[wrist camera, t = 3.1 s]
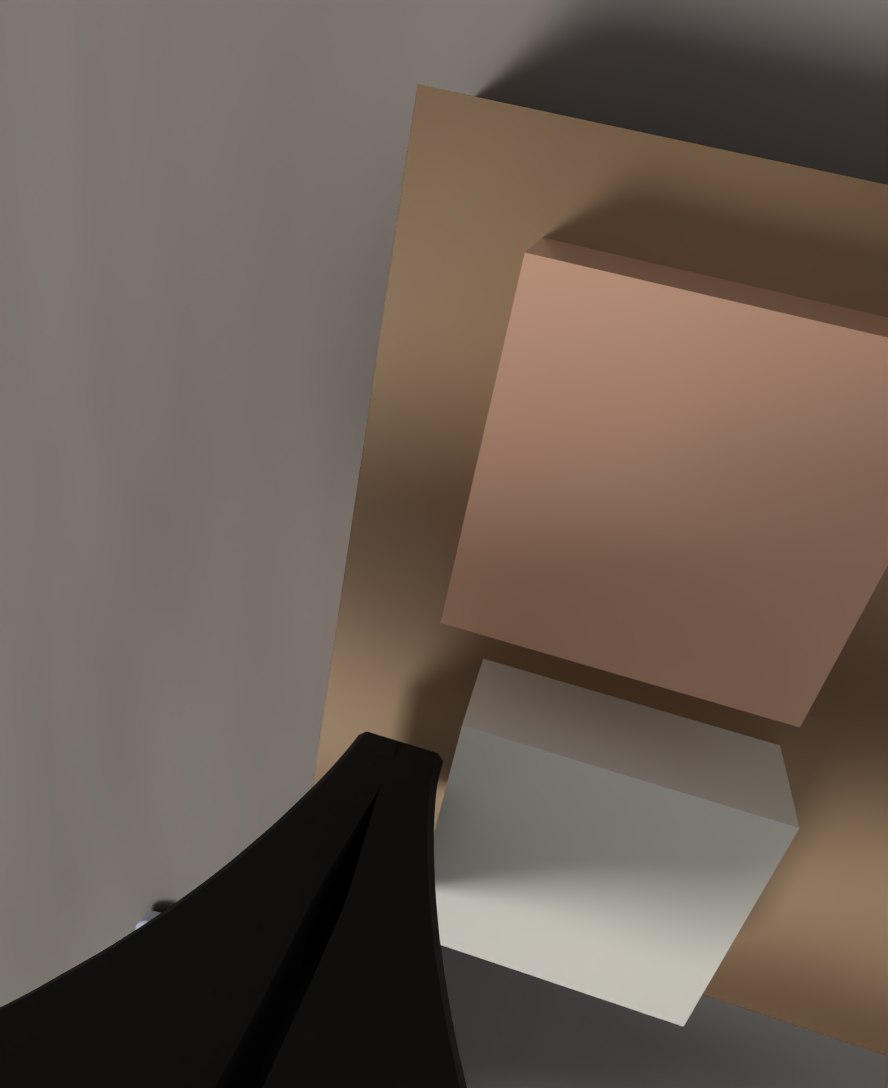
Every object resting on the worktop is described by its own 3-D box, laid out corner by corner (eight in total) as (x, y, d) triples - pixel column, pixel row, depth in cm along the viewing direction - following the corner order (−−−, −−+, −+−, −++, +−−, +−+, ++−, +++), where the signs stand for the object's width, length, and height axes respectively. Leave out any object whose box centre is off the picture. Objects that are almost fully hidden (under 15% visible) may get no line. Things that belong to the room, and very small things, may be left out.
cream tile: (679, 936, 14) (683, 1026, 12) (431, 855, 14) (407, 934, 13) (780, 745, 11) (799, 828, 10) (483, 658, 12) (461, 725, 10)
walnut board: (848, 911, 16) (889, 1056, 14) (352, 755, 17) (301, 861, 15) (1285, 275, 10) (1509, 317, 7) (469, 100, 11) (417, 84, 9)
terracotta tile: (778, 652, 11) (799, 727, 9) (465, 564, 11) (440, 622, 10) (939, 328, 9) (997, 364, 7) (542, 237, 9) (524, 252, 8)
